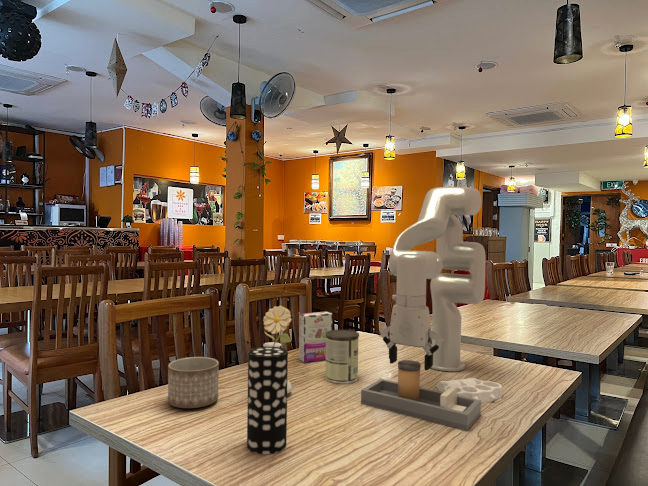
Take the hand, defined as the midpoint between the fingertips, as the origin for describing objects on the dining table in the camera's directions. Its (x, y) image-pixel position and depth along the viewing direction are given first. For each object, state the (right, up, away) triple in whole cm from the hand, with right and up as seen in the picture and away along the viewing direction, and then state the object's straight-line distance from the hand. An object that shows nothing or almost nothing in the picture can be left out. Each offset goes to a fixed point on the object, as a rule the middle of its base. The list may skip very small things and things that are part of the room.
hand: (410, 365), depth 122 cm
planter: (-57, -10, 0) cm, 58 cm away
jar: (0, -9, 0) cm, 9 cm away
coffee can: (-17, -10, +21) cm, 29 cm away
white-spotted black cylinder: (-35, -11, -23) cm, 43 cm away
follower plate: (+10, -10, -7) cm, 15 cm away
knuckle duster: (+18, -11, +9) cm, 23 cm away
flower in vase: (-37, -10, +7) cm, 39 cm away
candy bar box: (-26, -9, +41) cm, 50 cm away
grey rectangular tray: (+2, -11, -2) cm, 11 cm away
